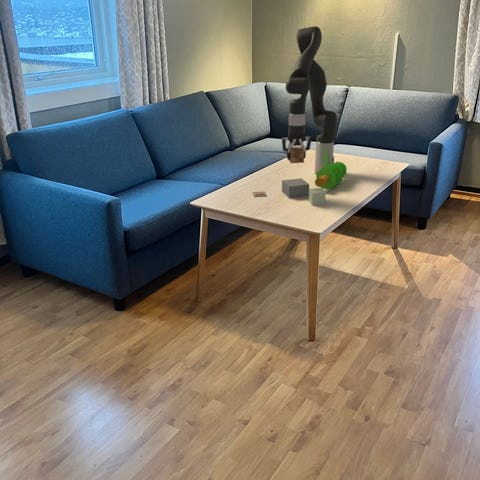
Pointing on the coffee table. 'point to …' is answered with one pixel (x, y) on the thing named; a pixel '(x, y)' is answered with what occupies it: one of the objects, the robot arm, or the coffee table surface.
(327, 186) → the decorative tree
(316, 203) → the sage cube
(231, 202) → the coffee table surface
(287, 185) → the base block
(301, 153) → the walnut cube
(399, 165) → the coffee table surface
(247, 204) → the coffee table surface
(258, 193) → the card
